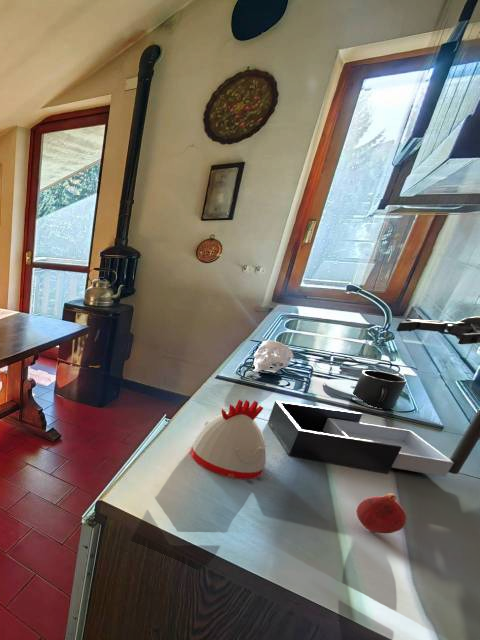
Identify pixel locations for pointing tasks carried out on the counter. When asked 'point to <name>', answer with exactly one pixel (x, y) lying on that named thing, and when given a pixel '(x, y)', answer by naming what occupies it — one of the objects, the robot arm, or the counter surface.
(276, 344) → the pale pink rounded lump
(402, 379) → the mug
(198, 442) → the kitchen timer
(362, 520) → the onion
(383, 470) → the black open box
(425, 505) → the counter surface
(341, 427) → the white boxy piece
